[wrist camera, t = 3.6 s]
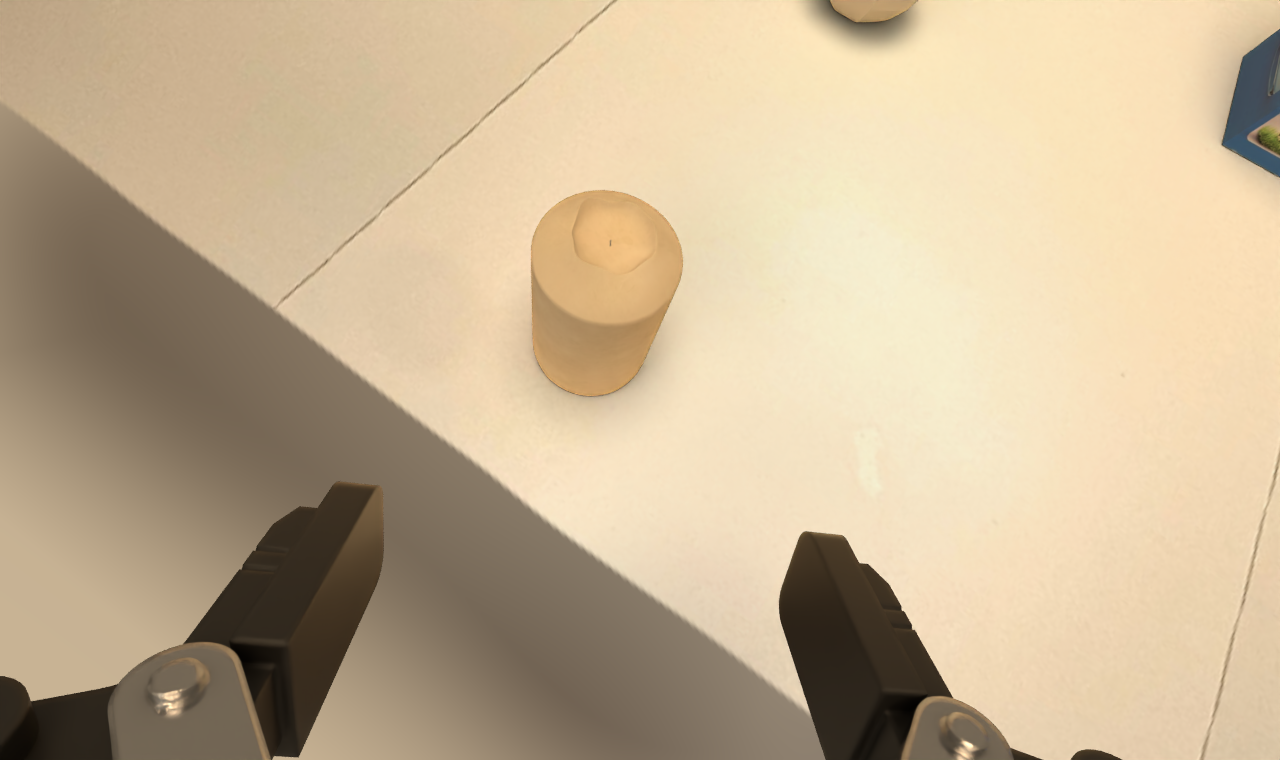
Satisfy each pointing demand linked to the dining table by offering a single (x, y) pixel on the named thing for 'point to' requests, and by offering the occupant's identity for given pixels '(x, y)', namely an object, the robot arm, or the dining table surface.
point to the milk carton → (1257, 107)
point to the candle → (600, 288)
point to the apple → (871, 9)
